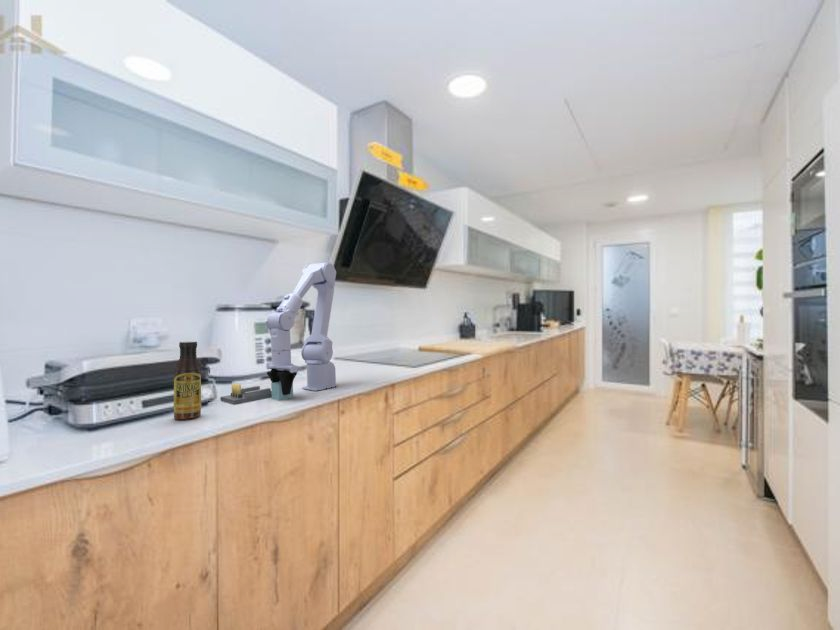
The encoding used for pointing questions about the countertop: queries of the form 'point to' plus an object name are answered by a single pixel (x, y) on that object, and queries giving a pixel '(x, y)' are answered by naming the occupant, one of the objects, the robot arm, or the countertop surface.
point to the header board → (246, 394)
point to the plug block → (279, 391)
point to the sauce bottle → (187, 383)
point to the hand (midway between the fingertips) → (282, 393)
